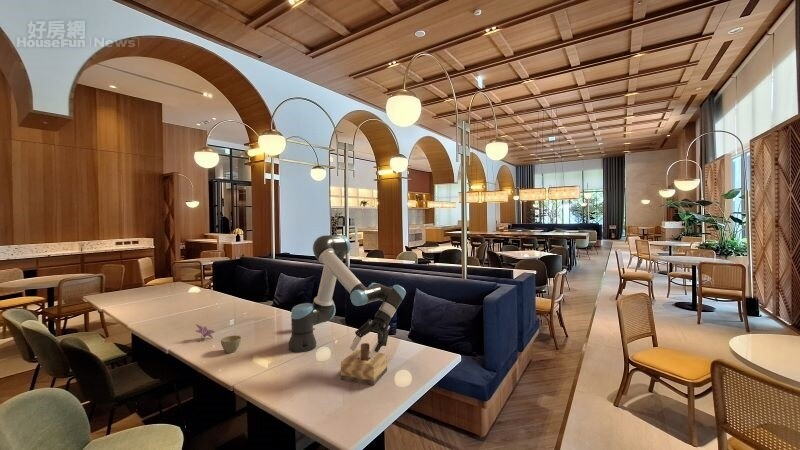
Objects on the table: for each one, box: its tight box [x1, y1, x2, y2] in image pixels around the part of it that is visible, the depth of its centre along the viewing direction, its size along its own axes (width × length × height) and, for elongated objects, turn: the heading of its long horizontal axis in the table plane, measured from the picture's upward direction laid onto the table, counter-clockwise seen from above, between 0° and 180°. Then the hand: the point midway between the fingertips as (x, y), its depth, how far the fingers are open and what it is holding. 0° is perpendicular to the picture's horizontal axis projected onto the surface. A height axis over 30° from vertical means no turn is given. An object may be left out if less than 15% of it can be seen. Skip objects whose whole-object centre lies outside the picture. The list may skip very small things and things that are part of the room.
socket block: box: [340, 349, 388, 386], centre depth 155 cm, size 16×15×8 cm
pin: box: [360, 343, 370, 361], centre depth 155 cm, size 4×4×12 cm
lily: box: [194, 323, 216, 343], centre depth 202 cm, size 12×12×10 cm
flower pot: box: [220, 334, 242, 354], centre depth 184 cm, size 10×10×7 cm
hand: (360, 353), depth 154 cm, fingers open, 13 cm apart
